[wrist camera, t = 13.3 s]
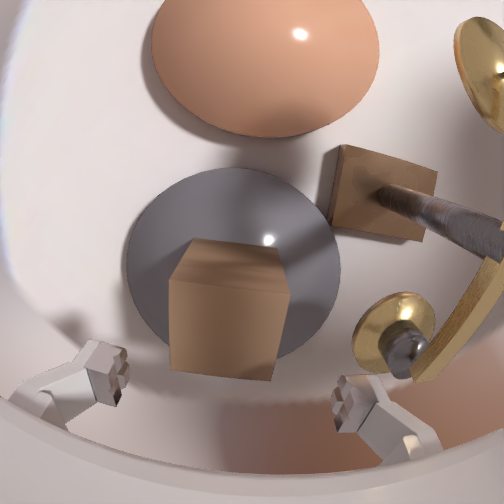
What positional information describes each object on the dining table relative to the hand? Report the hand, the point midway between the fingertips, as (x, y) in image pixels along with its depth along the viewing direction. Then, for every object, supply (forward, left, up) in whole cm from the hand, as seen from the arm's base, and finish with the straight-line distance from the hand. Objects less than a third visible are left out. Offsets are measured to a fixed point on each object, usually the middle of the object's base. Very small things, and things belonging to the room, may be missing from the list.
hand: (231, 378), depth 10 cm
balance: (-9, -7, -10) cm, 15 cm away
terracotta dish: (0, -16, -10) cm, 19 cm away
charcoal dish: (0, 0, -10) cm, 10 cm away
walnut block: (0, 0, -9) cm, 9 cm away
